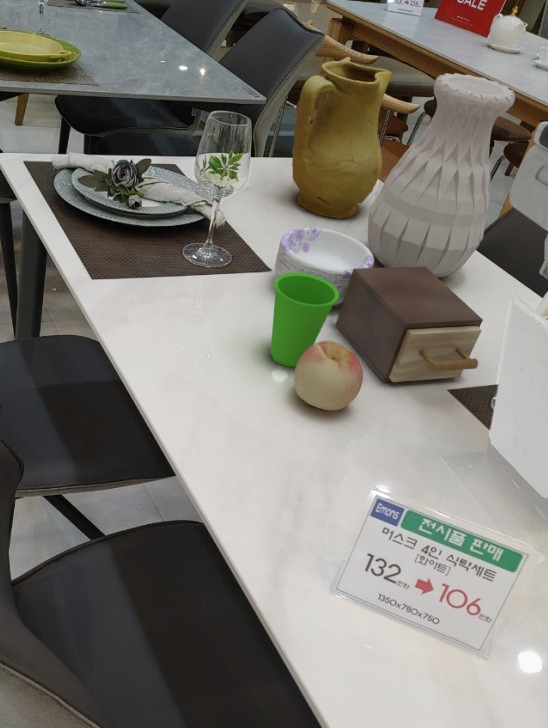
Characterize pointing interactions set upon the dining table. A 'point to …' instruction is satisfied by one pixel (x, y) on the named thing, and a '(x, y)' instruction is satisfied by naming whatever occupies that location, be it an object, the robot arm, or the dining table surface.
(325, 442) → the dining table surface
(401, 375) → the drawer
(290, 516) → the dining table surface
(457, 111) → the vase
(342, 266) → the paper bowls
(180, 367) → the dining table surface
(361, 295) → the cabinet
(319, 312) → the cup
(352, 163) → the pitcher
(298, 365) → the apple
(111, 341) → the dining table surface
